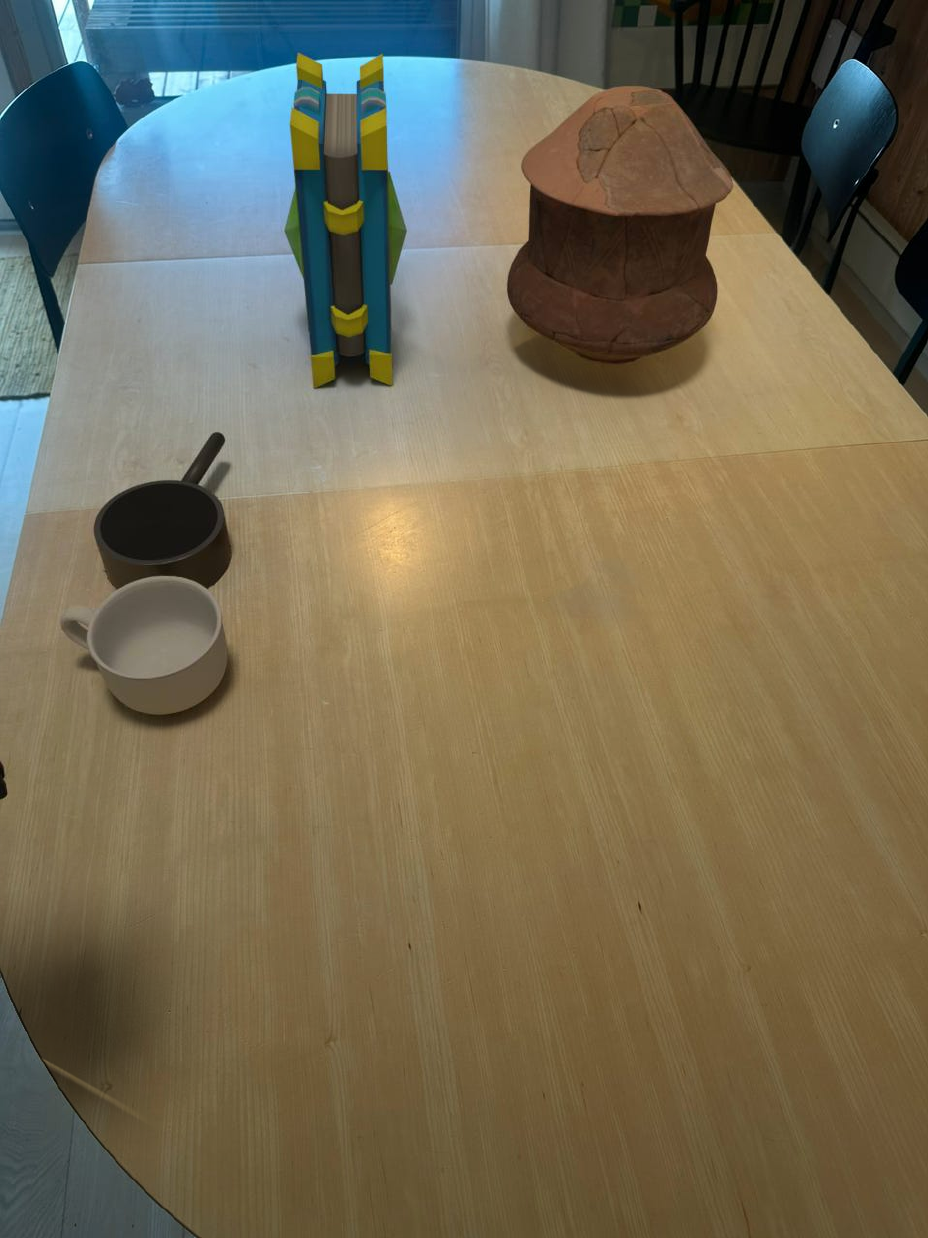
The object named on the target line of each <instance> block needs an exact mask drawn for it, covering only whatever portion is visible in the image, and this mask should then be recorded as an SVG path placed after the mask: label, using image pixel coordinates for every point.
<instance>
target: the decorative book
mask: <svg viewBox="0 0 928 1238" xmlns="http://www.w3.org/2000/svg"><path fill="white" fill-rule="evenodd" d="M295 69H296V79H297V85H296V91H294V95H293V107H291V110H290V117H289V131H290V132H289V133H290V143H291V155H292V165H293V166H292V167H293V175H294V190H293V194H292V198H291V203H290V206H289V211H288V214H287V219H286V222H285V226H284V230H283V231H284V234H285V236H286V239H287V241H288V244H289V246H290V249H291V251H292V254H293V256H294V259H295V262H296V264H297V267H298V269H299V271H300V274H301V276H302V279H303V286H304V299H305V309H306V310H305V311H306V319H307V330H308V332H309V333H308V334H309V344H310V345H309V346H310V362H311V363H310V365H311V374H312V384H313V386H312V387H313V389H316V388H319V387H320V386H322V385H325V384H327V383H329V382H331V381H334V380H335V379H336V365H337V364H339V361H338V359H339V355H341V356H345V357H355V356H360V355H362V354H364V353H365V362H366V364H368V365H369V377H370V378H371V379H373V380H376V381H379V382H381V383H384V384H386V385H388V386H390V387H393V359H392V358H393V357H392V290H391V289H392V288H391V286H392V285H393V283H394V280H395V278H396V277H395V276H396V273H397V270H398V266H399V261H400V259H401V254H402V251H403V247H404V243H405V240H406V236H407V232H408V230H407V227H406V223H405V220H404V216H403V213H402V208H401V206H400V203H399V199H398V196H397V193H396V189H395V185H394V181H393V179H392V176H391V171H389V161H388V118H387V116H388V113H387V94H386V92H385V82H384V81H385V79H384V78H385V76H384V55H383V53H381V54H379V55H378V56H376V57H373V58H372V59H371V60H369V61H367V62H366V63H364V64H362V65H360V66H359V80H357V81H356V93H328V91H327V90H328V89H327V81H326V80H324V75H323V74H324V72H323V64H322V63H320V62H318V61H316V60H314V59H313V58H310V57H308V56H306V55H304V54H302V53H300V52H297V56H296V65H295Z"/></svg>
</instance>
